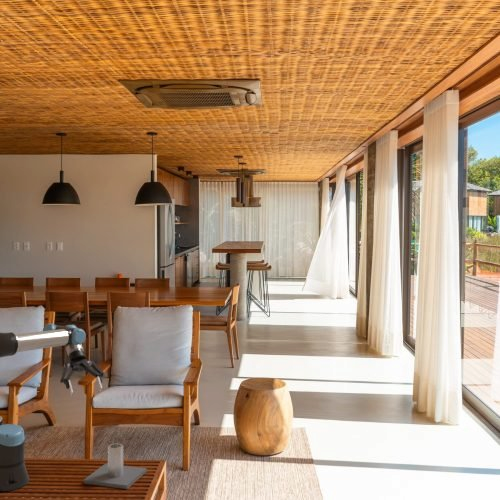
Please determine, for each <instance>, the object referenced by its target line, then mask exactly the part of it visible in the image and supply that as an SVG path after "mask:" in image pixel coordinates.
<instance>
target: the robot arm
mask: <svg viewBox="0 0 500 500" xmlns="http://www.w3.org/2000/svg"><path fill="white" fill-rule="evenodd" d="M86 337H87V336H86V332H85V330H84V329H82V328H78V327H77V326H76V325H75V324H67V325H65V326H63V325H56V324H53V323H47V324H45V325H44V326H43V329H42V330H41V331H35V332H34V331H33V332H26V333H25V332H24V333H14V332H0V358H5V357H11V356H15V355H16V354H17V353H20V352H27V351H34V350H35V351H36V350H41V349H47V348H54V347H61V346H65V349H66V352H67V353H66V354H67V356H68V361H69V363H68V362H66V361H65V362H64V364H63V371H62V375H61V378H60V381H59V382H60V383H61V384H64V385H65V388H66V390H68V392H69V396H70V397H71V396H73V394H74V390H73V385H72V381H71V380H70V379H71V378H72V376H73V374H75V372H84V371H85V372H87V373H89V374H90V375H92V376H93V377H94V378H96V379H95V381H96V384H97V387H98V391H99V392H102V389H103V377H104V375H105V372H104V371H103V370H102V369H101V367H99V366H98V364H96V363H95V360H94V359H93V358H92V359H90V360H87V357H86V355H85V354H86V353H85V349H84V346H83V343H84V342H85V341H86ZM69 368H71V370H70V372H69V373H68V374H67V376H66V373H67V371H68V369H69ZM65 376H66V377H65ZM3 419H4V418H3V416H1V415H0V492H9V491H14V490H18V489H20V488H21V489H22V488H23V487H25V486H26V485H27V484H28V483H29V482H30V476H29V473H28V470H27V467H26V464H25V438H26V437H25V431H24V428H23V427H22V426H21V425H19V424H13V423H6V424H4V420H3Z"/></svg>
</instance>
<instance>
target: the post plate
mask: <svg viewBox="0 0 500 500" xmlns="http://www.w3.org/2000/svg"><path fill="white" fill-rule="evenodd" d="M147 470H148V469H147V467H139V466H129V465H123V474H122V475H121V476H118V477H110V476H109V475H108V463H104V464H103V465H101V466H100V467H99V468H97V469H96V470H94V472H92V473H91V474H90V475H88V476H87V477H85V478H84V479H83V484H85V485H93V486H99V487H107V488H109V487H110V488H117V489H122V490H123V489H125V490H128V489H129V488H130V487H131V486H132V485H133V484H135V482H137V481H138V480H139V479H141V477H142V476H143V475H144V474H146V473H147Z"/></svg>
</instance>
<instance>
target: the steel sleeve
mask: <svg viewBox="0 0 500 500" xmlns="http://www.w3.org/2000/svg"><path fill="white" fill-rule="evenodd" d="M107 464H108V475H109V476H110V477H118V476H121V475H122V474H123V466H124V445H123V443H112V444H109V445H108V446H107Z"/></svg>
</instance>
